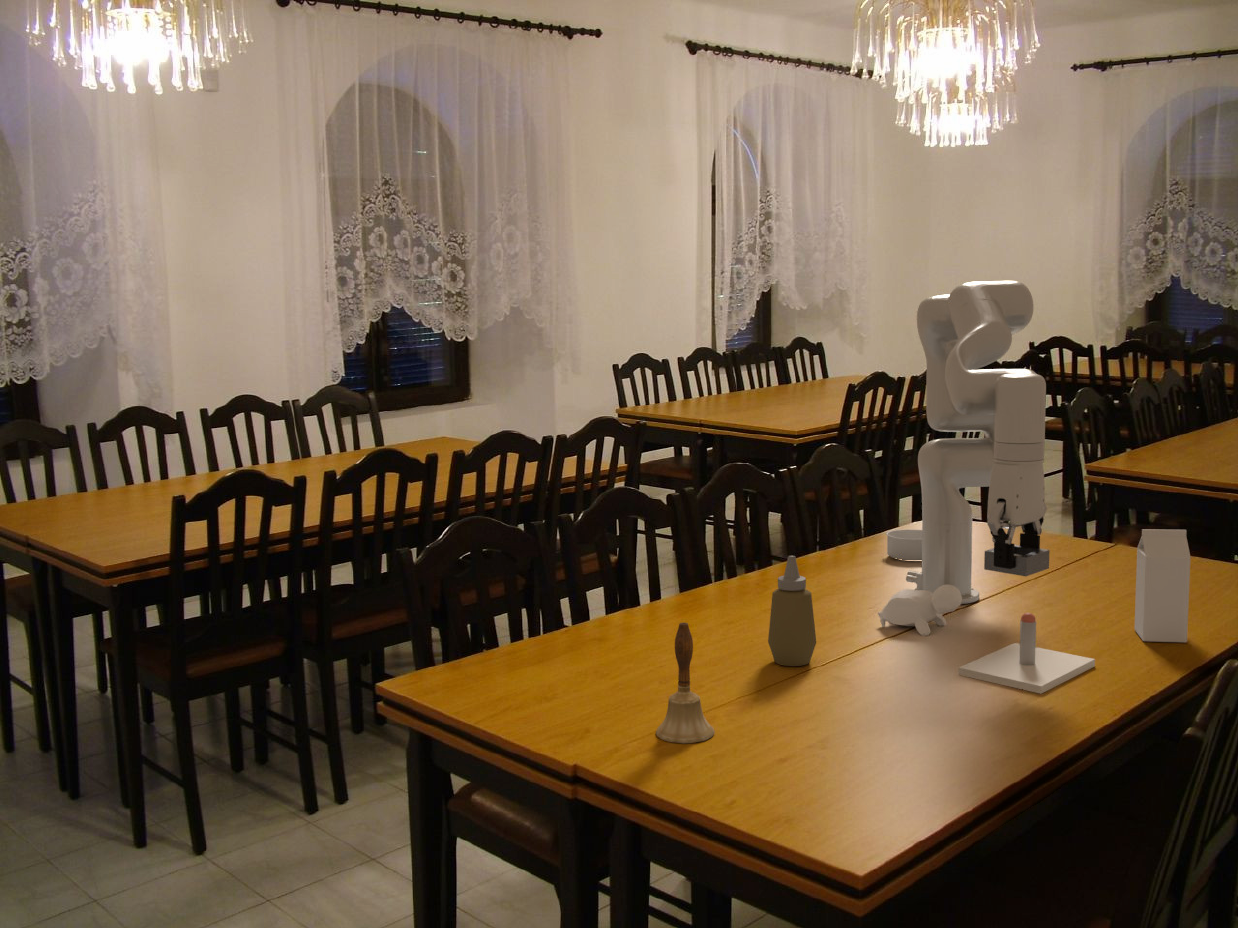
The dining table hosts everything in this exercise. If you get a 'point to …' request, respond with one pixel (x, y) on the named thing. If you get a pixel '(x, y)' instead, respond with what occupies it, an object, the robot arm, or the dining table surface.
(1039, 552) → the grey square socket block
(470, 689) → the dining table surface
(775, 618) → the squeeze bottle
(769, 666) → the dining table surface
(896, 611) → the white turtle figurine
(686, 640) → the hand bell
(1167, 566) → the milk carton
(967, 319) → the robot arm
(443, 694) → the dining table surface
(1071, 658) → the white peg stand
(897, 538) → the saucepan
